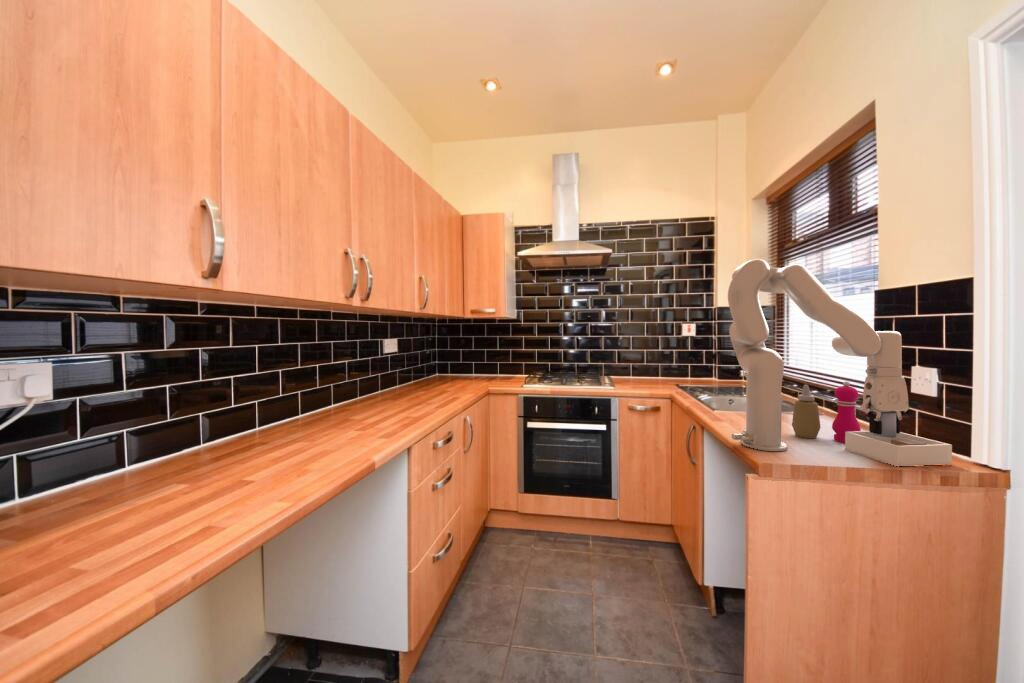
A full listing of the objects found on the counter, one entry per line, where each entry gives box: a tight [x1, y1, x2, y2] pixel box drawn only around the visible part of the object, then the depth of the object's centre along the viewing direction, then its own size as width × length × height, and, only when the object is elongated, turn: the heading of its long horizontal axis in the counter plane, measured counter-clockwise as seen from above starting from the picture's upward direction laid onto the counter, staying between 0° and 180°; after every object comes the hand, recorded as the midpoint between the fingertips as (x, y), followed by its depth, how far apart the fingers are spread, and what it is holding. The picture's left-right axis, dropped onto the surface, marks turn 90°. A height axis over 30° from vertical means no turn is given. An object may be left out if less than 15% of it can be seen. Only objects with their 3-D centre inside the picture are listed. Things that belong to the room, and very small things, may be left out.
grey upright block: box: [873, 411, 896, 438], centre depth 117 cm, size 5×5×7 cm
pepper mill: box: [831, 380, 862, 444], centre depth 129 cm, size 7×7×20 cm
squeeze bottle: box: [791, 384, 822, 439], centre depth 136 cm, size 8×8×18 cm
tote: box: [844, 430, 953, 468], centre depth 113 cm, size 16×16×6 cm
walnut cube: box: [891, 439, 927, 446], centre depth 110 cm, size 5×5×5 cm
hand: (884, 432), depth 117 cm, fingers closed on grey upright block, 5 cm apart
